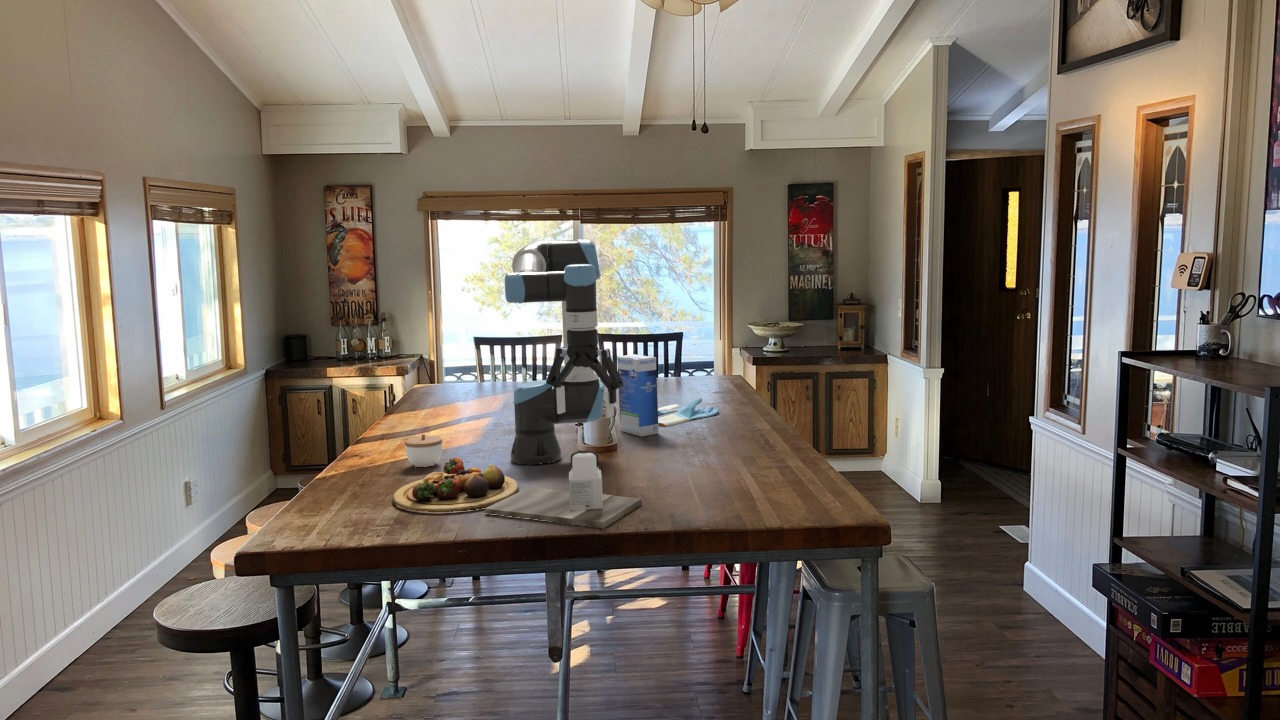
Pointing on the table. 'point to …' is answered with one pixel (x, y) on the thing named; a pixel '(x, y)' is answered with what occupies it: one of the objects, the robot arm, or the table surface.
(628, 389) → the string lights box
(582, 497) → the container
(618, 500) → the board
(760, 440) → the table surface
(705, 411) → the rubber gloves
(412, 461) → the lidded jar
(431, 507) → the wooden plate with food
